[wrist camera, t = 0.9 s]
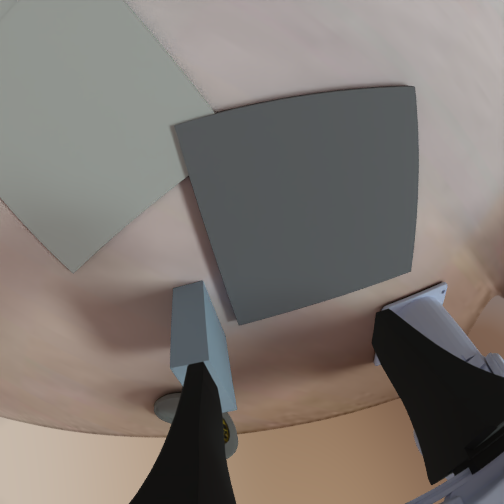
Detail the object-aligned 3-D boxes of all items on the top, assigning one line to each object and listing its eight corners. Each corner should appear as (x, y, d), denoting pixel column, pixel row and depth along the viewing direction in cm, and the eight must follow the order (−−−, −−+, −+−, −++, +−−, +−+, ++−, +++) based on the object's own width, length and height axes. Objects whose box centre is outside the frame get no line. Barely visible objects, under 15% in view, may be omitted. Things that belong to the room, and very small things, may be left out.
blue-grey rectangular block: (225, 336, 24) (237, 409, 18) (199, 342, 24) (205, 415, 18) (202, 280, 21) (209, 360, 15) (173, 288, 21) (170, 368, 15)
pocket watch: (151, 414, 29) (152, 493, 21) (159, 375, 26) (159, 474, 17) (220, 420, 32) (231, 495, 24) (241, 383, 28) (260, 475, 20)
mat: (407, 267, 24) (410, 271, 23) (237, 320, 23) (238, 325, 23) (409, 85, 16) (415, 86, 15) (175, 124, 15) (174, 125, 15)
